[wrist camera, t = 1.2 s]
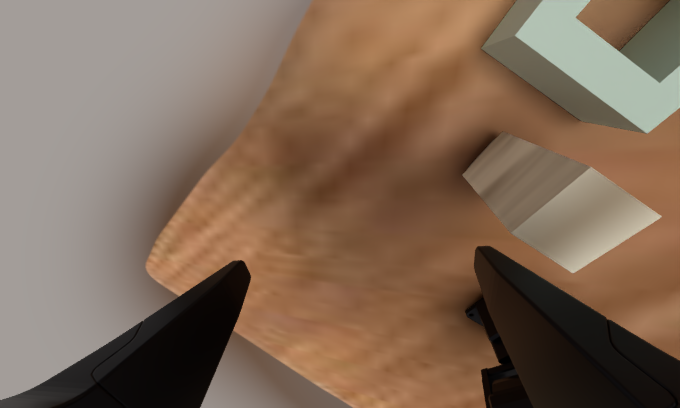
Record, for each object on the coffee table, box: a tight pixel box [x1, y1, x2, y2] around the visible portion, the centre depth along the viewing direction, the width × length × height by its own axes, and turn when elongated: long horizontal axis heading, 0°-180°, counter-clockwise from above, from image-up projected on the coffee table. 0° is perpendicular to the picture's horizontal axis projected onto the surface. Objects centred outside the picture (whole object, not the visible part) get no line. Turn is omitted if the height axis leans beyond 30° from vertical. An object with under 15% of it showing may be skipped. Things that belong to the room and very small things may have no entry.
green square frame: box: [481, 0, 680, 134], centre depth 13 cm, size 9×9×5 cm
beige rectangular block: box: [462, 131, 661, 273], centre depth 15 cm, size 4×4×10 cm
